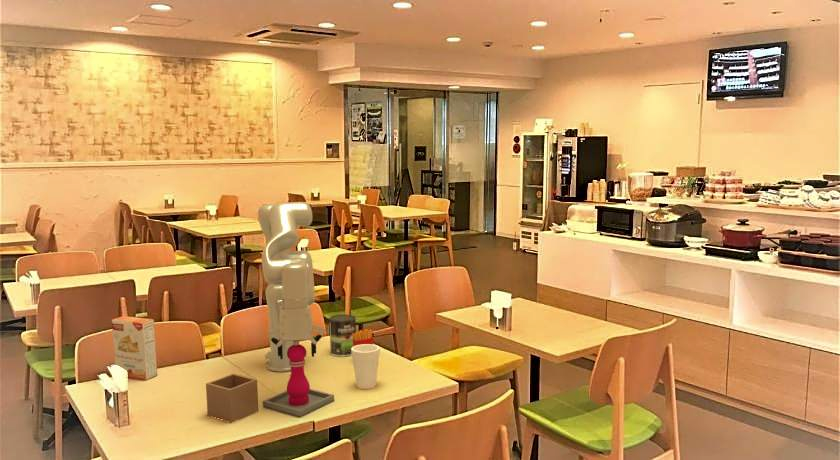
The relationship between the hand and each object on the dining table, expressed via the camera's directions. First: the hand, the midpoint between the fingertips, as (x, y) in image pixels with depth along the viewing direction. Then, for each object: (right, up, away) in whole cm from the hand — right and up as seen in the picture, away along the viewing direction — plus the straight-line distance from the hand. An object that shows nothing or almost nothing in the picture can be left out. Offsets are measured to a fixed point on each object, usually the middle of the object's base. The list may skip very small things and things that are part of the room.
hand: (297, 356), depth 212 cm
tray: (0, -15, +2) cm, 15 cm away
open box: (-19, -16, -5) cm, 25 cm away
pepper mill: (0, -15, +2) cm, 15 cm away
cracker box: (-63, -13, +30) cm, 70 cm away
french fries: (+17, -10, +43) cm, 48 cm away
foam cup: (+20, -13, +17) cm, 30 cm away
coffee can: (+8, -9, +54) cm, 55 cm away
